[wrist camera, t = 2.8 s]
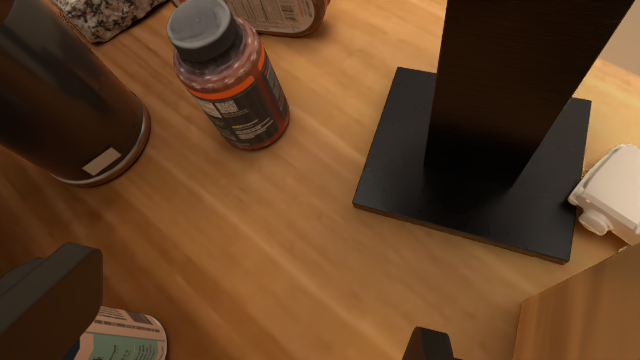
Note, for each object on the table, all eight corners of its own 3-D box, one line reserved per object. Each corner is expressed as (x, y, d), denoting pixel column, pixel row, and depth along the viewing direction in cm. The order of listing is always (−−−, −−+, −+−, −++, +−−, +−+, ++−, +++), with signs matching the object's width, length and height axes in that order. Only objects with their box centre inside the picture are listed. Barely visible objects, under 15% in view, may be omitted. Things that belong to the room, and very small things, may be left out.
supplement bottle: (267, 78, 37) (218, -34, 26) (305, 124, 34) (267, 20, 24) (208, 117, 36) (135, 17, 26) (243, 166, 34) (176, 78, 23)
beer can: (103, 324, 30) (-59, 300, 19) (167, 306, 30) (39, 272, 19) (105, 398, 28) (-76, 418, 17) (173, 379, 28) (33, 387, 17)
